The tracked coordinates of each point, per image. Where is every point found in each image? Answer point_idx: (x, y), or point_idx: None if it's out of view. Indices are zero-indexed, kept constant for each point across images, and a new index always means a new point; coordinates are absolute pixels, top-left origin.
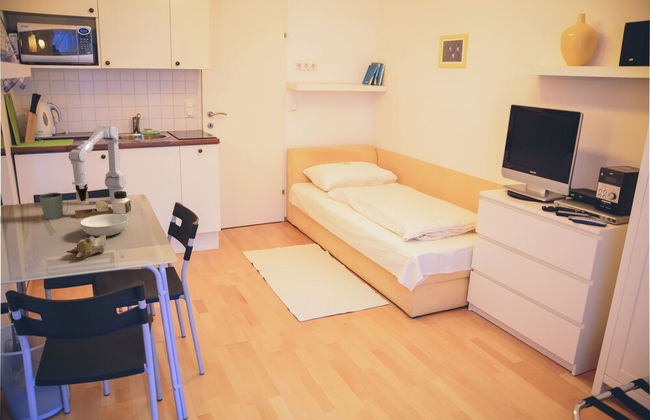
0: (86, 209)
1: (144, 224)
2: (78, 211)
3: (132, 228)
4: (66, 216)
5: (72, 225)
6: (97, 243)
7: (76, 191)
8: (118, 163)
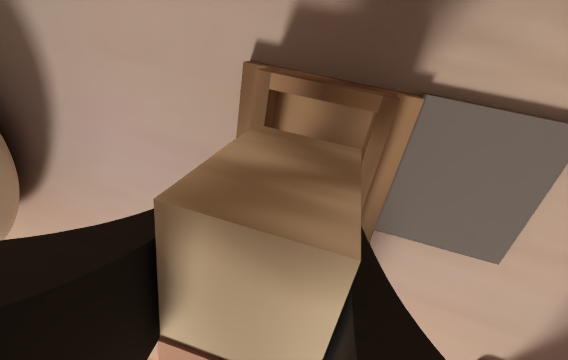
0: (363, 197)
1: None
2: (373, 125)
3: None
4: (454, 6)
5: (137, 3)
6: None
7: (334, 271)
8: None
